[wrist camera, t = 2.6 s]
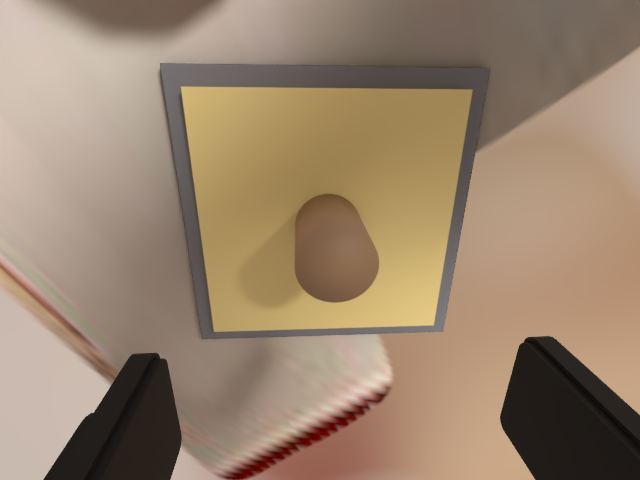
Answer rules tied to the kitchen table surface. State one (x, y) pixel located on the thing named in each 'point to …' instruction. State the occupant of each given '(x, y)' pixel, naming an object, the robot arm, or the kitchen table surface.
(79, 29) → the kitchen table surface
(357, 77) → the mat
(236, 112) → the sheet
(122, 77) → the kitchen table surface
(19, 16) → the kitchen table surface
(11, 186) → the kitchen table surface
